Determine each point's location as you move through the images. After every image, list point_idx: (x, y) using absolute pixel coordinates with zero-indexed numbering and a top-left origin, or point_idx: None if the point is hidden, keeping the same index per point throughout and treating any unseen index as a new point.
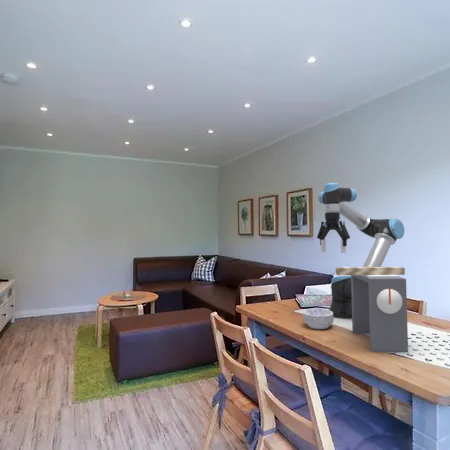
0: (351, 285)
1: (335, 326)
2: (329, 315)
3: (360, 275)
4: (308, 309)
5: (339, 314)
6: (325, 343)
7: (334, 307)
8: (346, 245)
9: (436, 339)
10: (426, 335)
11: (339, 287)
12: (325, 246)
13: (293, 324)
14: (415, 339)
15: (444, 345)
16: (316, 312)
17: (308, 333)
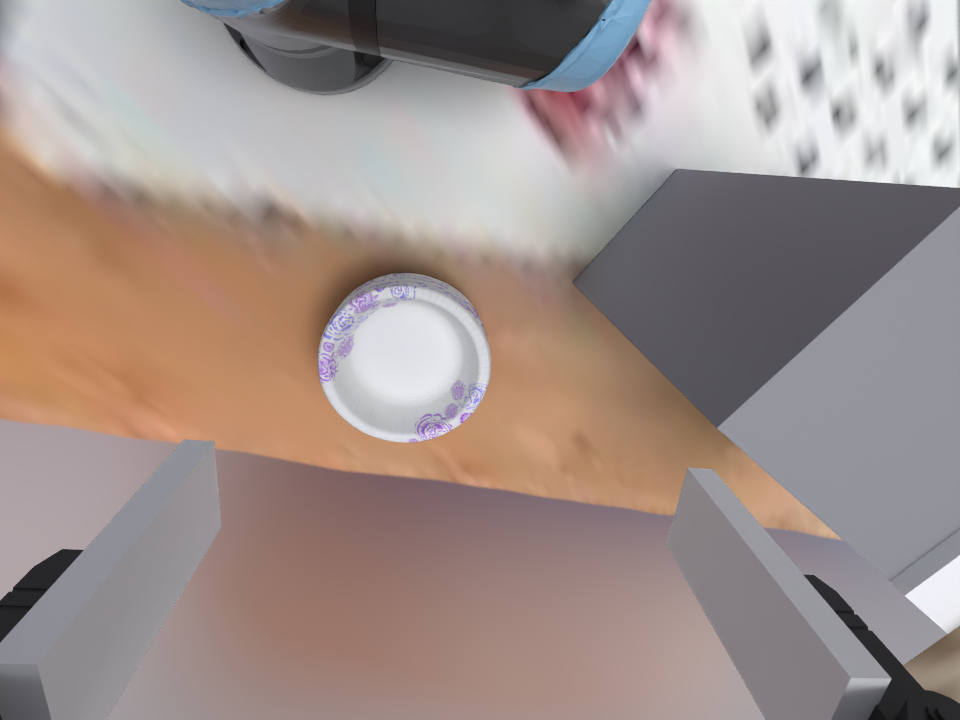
0: (663, 373)
1: (460, 266)
2: (489, 371)
3: (883, 575)
4: (326, 366)
5: (357, 84)
6: (577, 488)
7: (301, 71)
8: (829, 591)
9: (920, 72)
10: (871, 37)
11: (312, 35)
12: (162, 510)
13: (302, 401)
14: (838, 157)
15: (956, 144)
16: (355, 321)
17: (452, 449)
